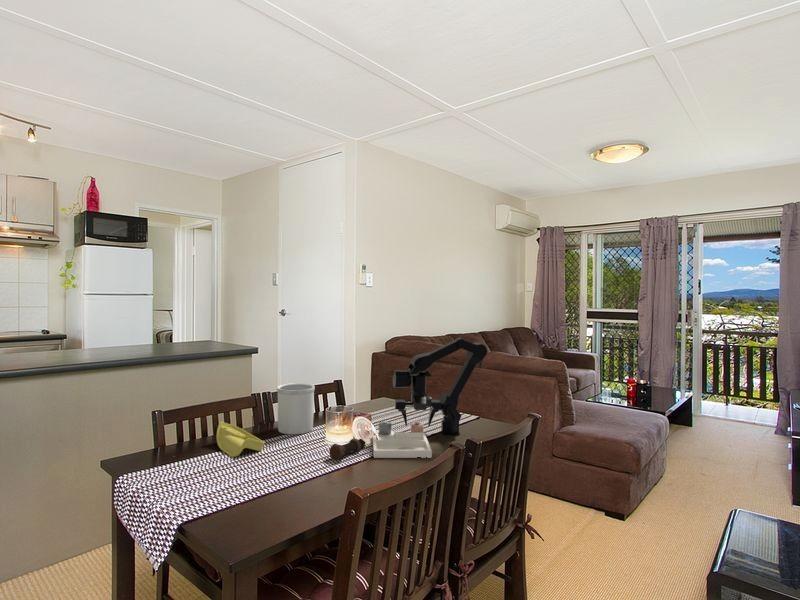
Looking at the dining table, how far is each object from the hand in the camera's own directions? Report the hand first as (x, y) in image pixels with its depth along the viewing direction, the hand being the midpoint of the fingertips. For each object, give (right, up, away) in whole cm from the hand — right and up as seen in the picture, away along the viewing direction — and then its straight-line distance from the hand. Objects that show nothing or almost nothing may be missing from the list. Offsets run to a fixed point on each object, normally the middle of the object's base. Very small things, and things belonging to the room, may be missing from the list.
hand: (417, 425), depth 187 cm
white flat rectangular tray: (-7, -3, -12) cm, 14 cm away
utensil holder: (-49, -2, +1) cm, 49 cm away
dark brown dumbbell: (-25, -4, -24) cm, 35 cm away
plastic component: (-65, -2, -21) cm, 68 cm away
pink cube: (0, -3, 0) cm, 3 cm away
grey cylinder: (-13, -2, -2) cm, 13 cm away
